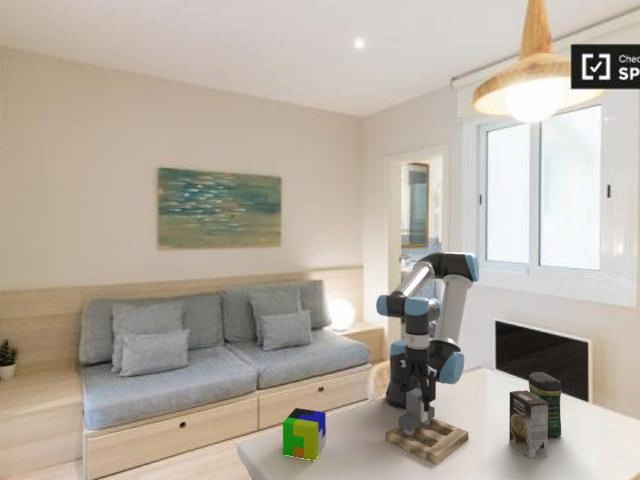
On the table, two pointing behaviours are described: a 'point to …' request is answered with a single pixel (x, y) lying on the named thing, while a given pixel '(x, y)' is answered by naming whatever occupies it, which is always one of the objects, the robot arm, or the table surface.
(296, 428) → the puzzle toy
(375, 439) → the table surface
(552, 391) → the coffee jar
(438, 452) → the keyhole board
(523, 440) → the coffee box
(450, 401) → the table surface
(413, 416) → the grey stepped block
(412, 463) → the table surface
